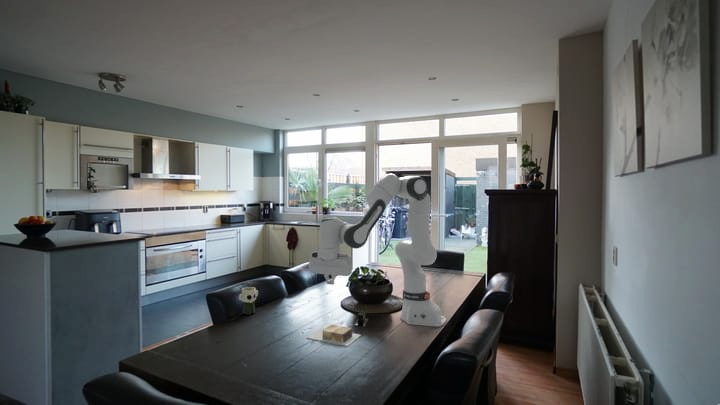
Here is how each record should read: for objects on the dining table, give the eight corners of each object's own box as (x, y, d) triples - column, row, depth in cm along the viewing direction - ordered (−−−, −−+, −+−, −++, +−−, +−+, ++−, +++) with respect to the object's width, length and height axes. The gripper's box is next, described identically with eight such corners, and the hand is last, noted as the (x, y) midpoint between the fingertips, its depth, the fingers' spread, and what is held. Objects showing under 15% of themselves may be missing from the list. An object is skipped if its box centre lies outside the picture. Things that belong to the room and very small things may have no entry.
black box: (366, 328, 176) (366, 318, 176) (351, 327, 177) (351, 317, 177) (370, 319, 188) (370, 310, 188) (356, 318, 189) (356, 309, 189)
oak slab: (331, 332, 168) (352, 336, 164) (322, 338, 161) (343, 342, 156) (331, 324, 168) (352, 328, 163) (322, 330, 161) (343, 334, 156)
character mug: (243, 317, 188) (243, 291, 187) (235, 314, 192) (235, 289, 192) (261, 312, 196) (261, 287, 196) (253, 309, 201) (253, 285, 200)
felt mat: (360, 335, 165) (360, 334, 165) (347, 346, 153) (347, 345, 153) (321, 328, 173) (321, 327, 173) (306, 338, 162) (306, 337, 162)
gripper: (353, 253, 165) (354, 284, 166) (314, 251, 174) (314, 280, 174) (347, 256, 159) (348, 288, 160) (306, 253, 168) (307, 283, 168)
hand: (330, 284), depth 167 cm, fingers closed
